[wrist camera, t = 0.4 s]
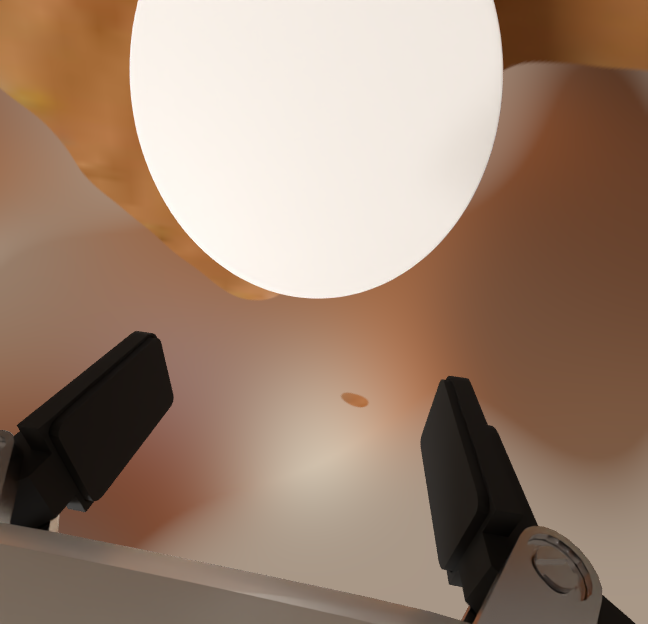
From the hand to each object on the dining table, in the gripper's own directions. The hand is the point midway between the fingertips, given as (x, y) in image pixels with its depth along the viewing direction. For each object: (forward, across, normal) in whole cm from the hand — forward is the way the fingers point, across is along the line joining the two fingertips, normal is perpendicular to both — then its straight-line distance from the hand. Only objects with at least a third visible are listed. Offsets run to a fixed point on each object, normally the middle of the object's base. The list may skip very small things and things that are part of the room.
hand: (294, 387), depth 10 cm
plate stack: (+31, +4, -7) cm, 32 cm away
